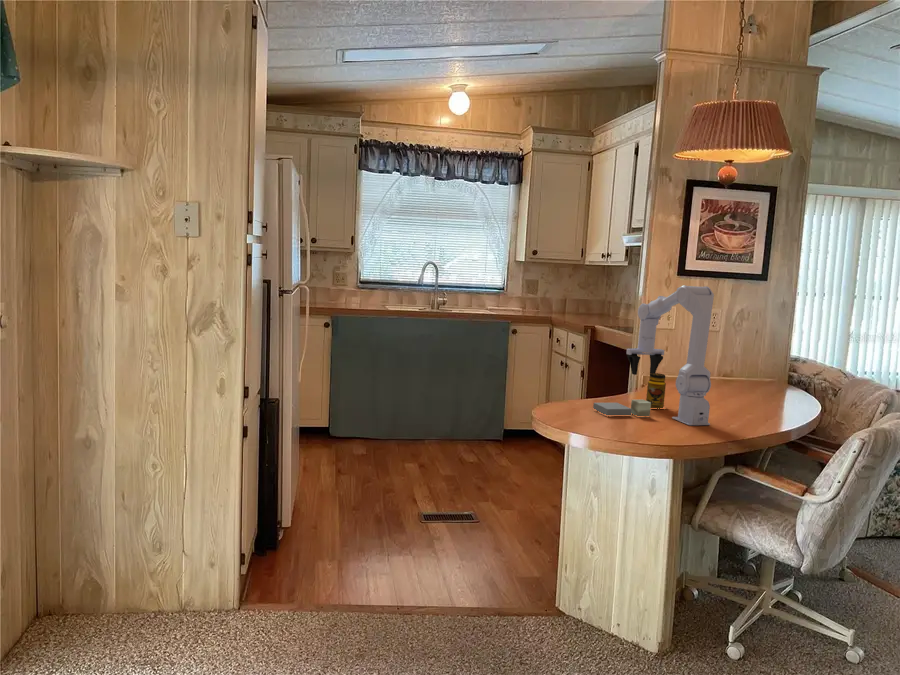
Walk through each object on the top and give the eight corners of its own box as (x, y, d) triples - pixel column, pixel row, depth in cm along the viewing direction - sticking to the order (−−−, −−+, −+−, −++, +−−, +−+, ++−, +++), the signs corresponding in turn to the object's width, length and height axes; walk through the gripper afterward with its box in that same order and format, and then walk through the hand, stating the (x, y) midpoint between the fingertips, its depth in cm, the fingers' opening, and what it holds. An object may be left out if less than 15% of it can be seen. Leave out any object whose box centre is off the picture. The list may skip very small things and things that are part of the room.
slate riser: (630, 417, 222) (631, 408, 222) (606, 418, 219) (607, 409, 219) (616, 411, 231) (617, 402, 230) (592, 411, 228) (593, 402, 228)
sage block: (649, 417, 223) (651, 402, 222) (637, 417, 222) (639, 402, 221) (641, 414, 227) (643, 399, 227) (630, 414, 226) (631, 399, 225)
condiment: (651, 410, 234) (654, 376, 233) (637, 404, 242) (641, 371, 241) (669, 409, 236) (672, 376, 235) (655, 404, 244) (658, 371, 243)
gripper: (657, 336, 250) (654, 372, 251) (623, 335, 245) (619, 372, 247) (669, 338, 243) (665, 376, 245) (634, 338, 239) (630, 375, 240)
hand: (643, 374), depth 245 cm, fingers open, 7 cm apart
